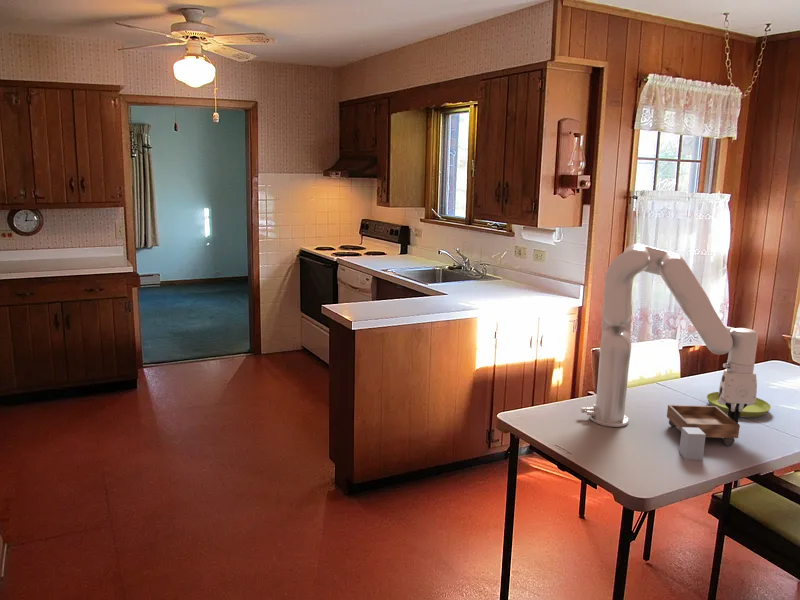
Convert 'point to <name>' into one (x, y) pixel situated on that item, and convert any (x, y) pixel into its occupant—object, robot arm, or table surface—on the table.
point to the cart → (704, 421)
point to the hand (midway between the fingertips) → (733, 421)
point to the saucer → (749, 411)
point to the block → (692, 443)
